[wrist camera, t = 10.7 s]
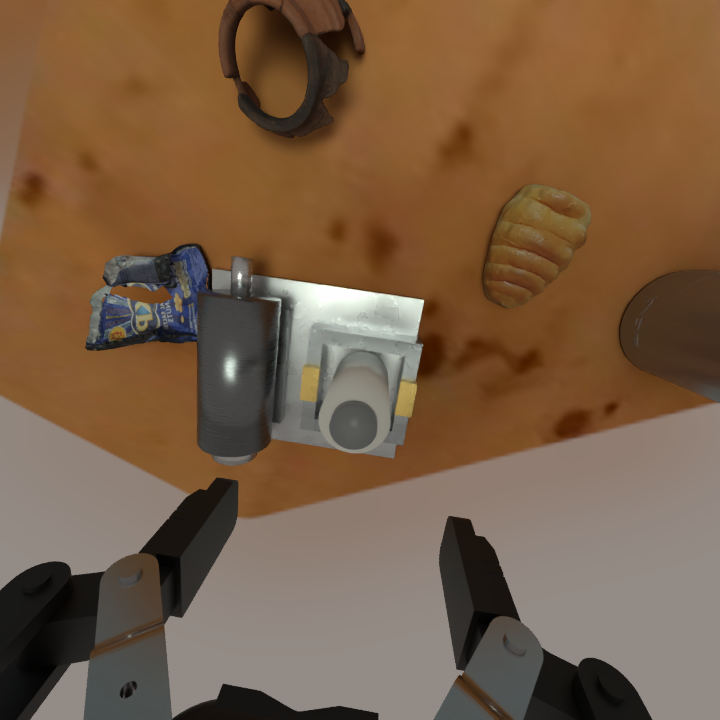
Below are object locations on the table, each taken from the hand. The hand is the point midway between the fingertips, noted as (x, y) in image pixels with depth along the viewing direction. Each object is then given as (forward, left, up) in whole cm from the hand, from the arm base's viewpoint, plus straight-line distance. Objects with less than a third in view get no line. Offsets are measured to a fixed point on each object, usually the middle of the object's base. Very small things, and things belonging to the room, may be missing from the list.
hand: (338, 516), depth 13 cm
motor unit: (+5, +1, -21) cm, 21 cm away
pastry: (-12, -12, -21) cm, 27 cm away
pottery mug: (+9, -23, -21) cm, 33 cm away
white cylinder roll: (0, +1, -20) cm, 20 cm away
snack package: (+20, -3, -21) cm, 30 cm away
